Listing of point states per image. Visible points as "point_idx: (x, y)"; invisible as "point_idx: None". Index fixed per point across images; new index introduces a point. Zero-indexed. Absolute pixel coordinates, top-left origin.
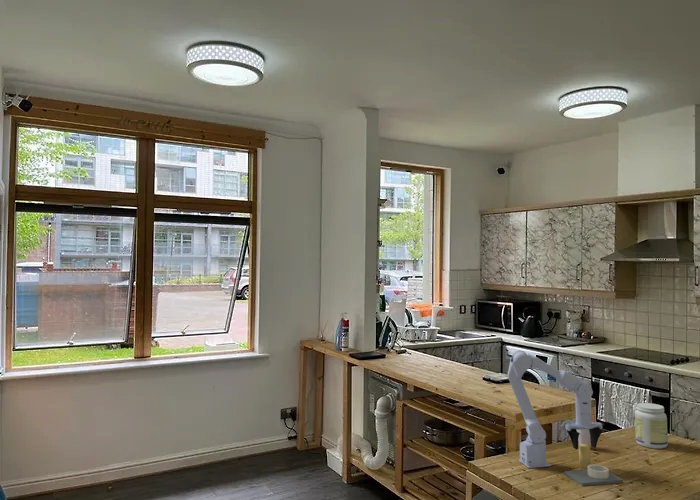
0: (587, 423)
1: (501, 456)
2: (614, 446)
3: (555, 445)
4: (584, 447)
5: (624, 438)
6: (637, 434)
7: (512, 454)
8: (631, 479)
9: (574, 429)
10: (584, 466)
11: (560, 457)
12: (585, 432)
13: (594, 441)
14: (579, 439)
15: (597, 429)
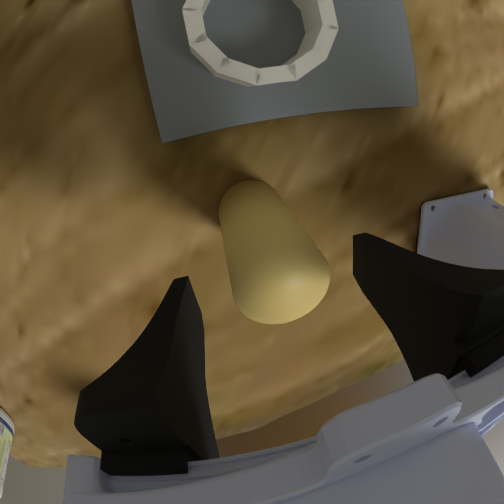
0: (430, 499)
1: None
2: (63, 414)
3: (267, 415)
4: (305, 242)
5: (44, 442)
6: (1, 437)
7: None
8: (56, 33)
9: (490, 356)
10: (268, 186)
11: (316, 320)
12: None
13: (184, 318)
14: None
15: (134, 446)
